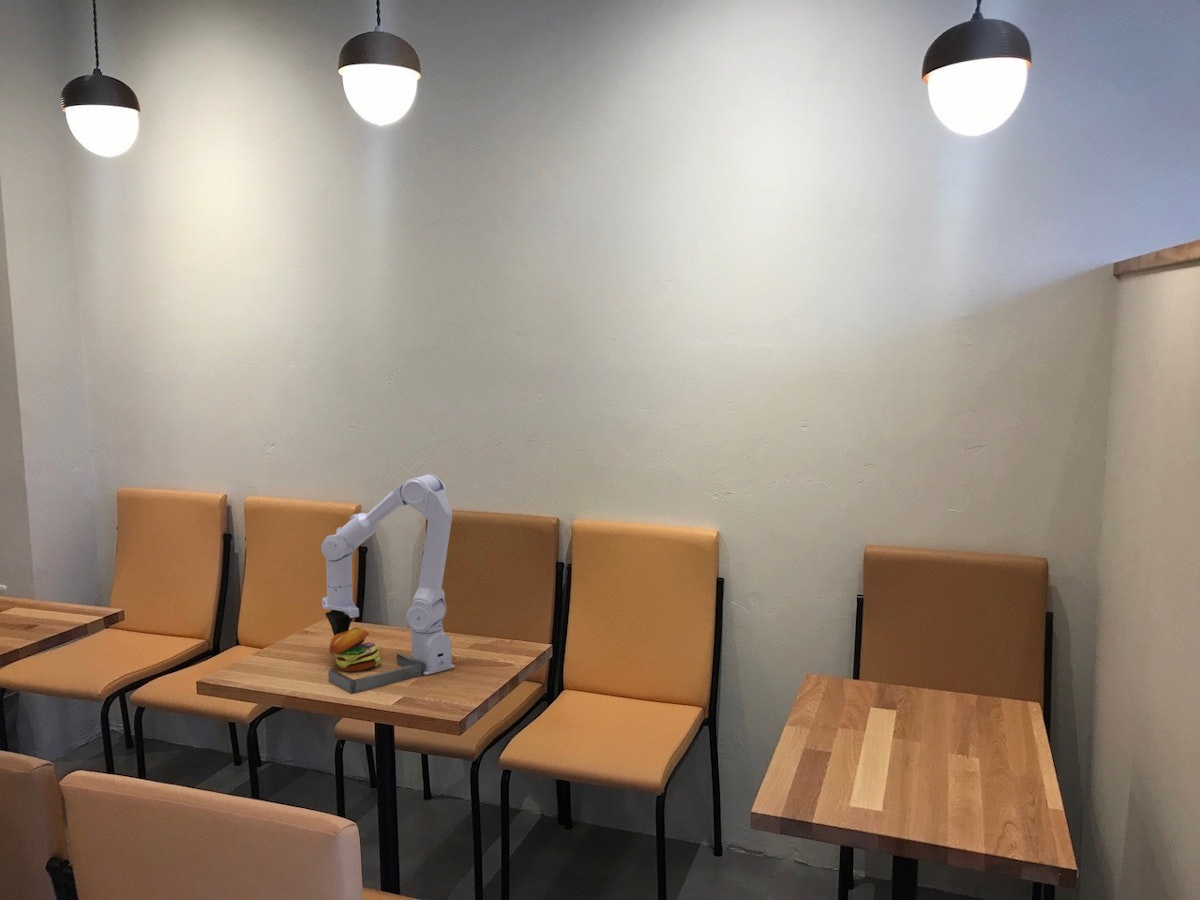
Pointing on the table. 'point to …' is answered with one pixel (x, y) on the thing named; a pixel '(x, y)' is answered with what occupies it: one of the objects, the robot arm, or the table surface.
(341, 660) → the cheeseburger
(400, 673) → the grey low angled fixture
